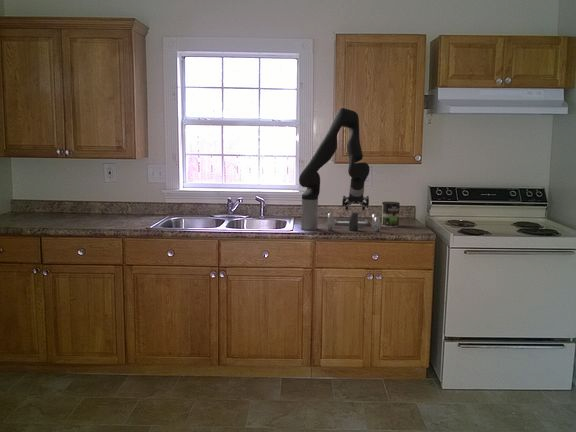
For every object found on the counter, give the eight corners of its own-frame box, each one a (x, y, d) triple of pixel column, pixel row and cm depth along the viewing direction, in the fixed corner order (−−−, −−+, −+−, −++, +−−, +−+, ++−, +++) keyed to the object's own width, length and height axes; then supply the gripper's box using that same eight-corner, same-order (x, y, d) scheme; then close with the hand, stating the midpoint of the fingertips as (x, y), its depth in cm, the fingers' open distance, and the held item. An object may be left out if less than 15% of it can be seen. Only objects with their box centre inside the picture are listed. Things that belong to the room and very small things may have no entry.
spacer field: (327, 231, 308) (328, 217, 306) (327, 225, 325) (327, 212, 324) (379, 232, 306) (380, 217, 305) (376, 226, 324) (377, 213, 322)
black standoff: (349, 230, 309) (349, 213, 307) (348, 229, 314) (349, 212, 312) (358, 231, 309) (358, 213, 307) (357, 229, 313) (357, 212, 312)
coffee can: (401, 227, 324) (402, 203, 322) (385, 227, 322) (386, 203, 319) (394, 224, 334) (395, 201, 332) (378, 224, 331) (379, 201, 329)
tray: (335, 225, 327) (335, 222, 326) (334, 220, 344) (334, 218, 344) (368, 226, 325) (368, 223, 325) (366, 221, 343) (366, 219, 343)
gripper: (370, 185, 290) (367, 204, 303) (343, 185, 291) (341, 203, 304) (370, 196, 286) (368, 215, 299) (343, 196, 286) (341, 214, 299)
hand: (354, 209), depth 301 cm, fingers open, 8 cm apart
